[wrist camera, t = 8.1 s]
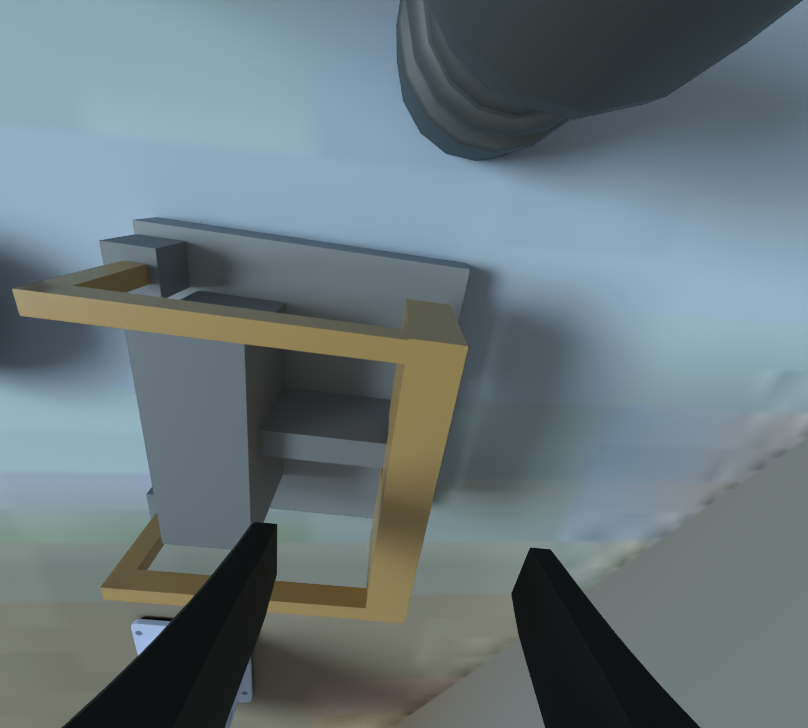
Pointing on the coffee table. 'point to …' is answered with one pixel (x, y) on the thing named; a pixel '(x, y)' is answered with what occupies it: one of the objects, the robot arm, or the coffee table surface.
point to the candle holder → (555, 61)
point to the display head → (265, 376)
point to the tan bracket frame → (408, 347)
